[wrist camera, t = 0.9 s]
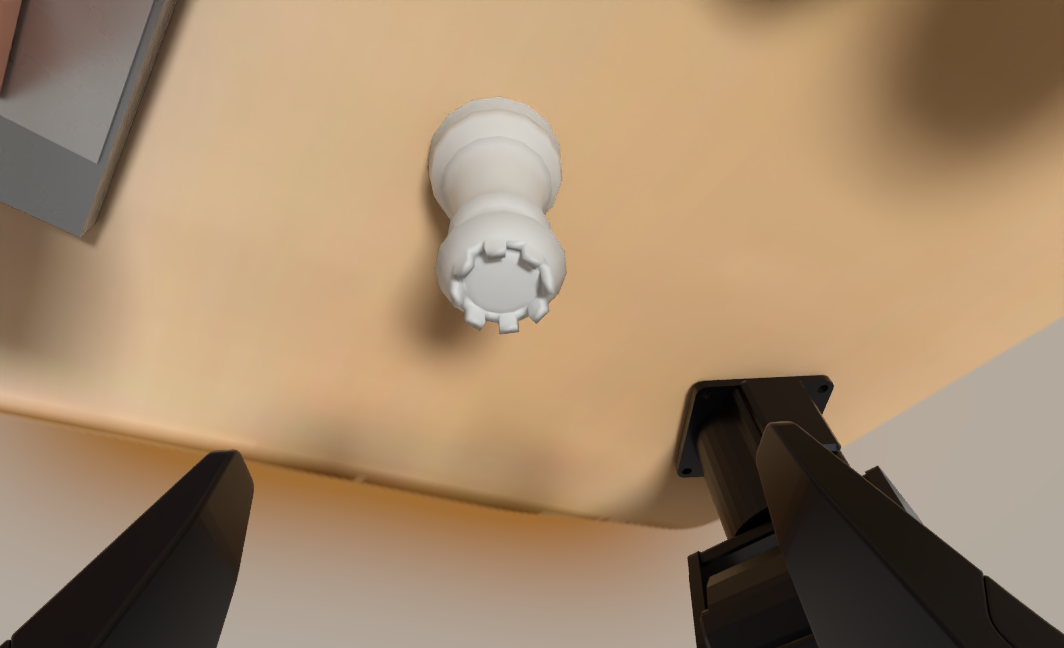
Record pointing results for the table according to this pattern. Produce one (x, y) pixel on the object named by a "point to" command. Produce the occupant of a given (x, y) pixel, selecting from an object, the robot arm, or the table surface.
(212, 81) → the table surface
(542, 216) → the rook chess piece
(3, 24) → the block
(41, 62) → the rail
